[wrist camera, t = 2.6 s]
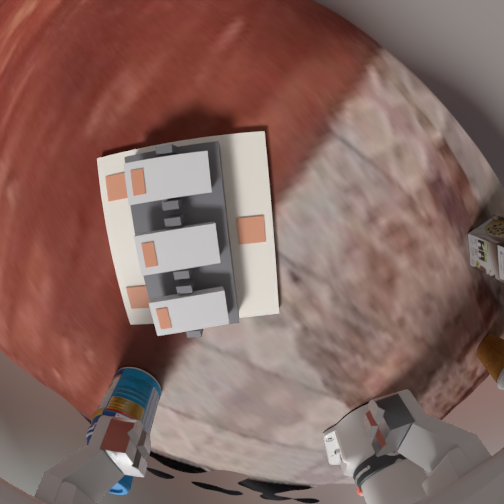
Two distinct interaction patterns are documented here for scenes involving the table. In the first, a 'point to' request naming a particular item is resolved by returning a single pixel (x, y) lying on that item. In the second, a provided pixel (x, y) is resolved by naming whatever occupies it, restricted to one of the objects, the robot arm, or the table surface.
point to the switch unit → (196, 212)
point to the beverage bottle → (129, 407)
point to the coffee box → (488, 247)
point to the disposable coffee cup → (493, 357)
